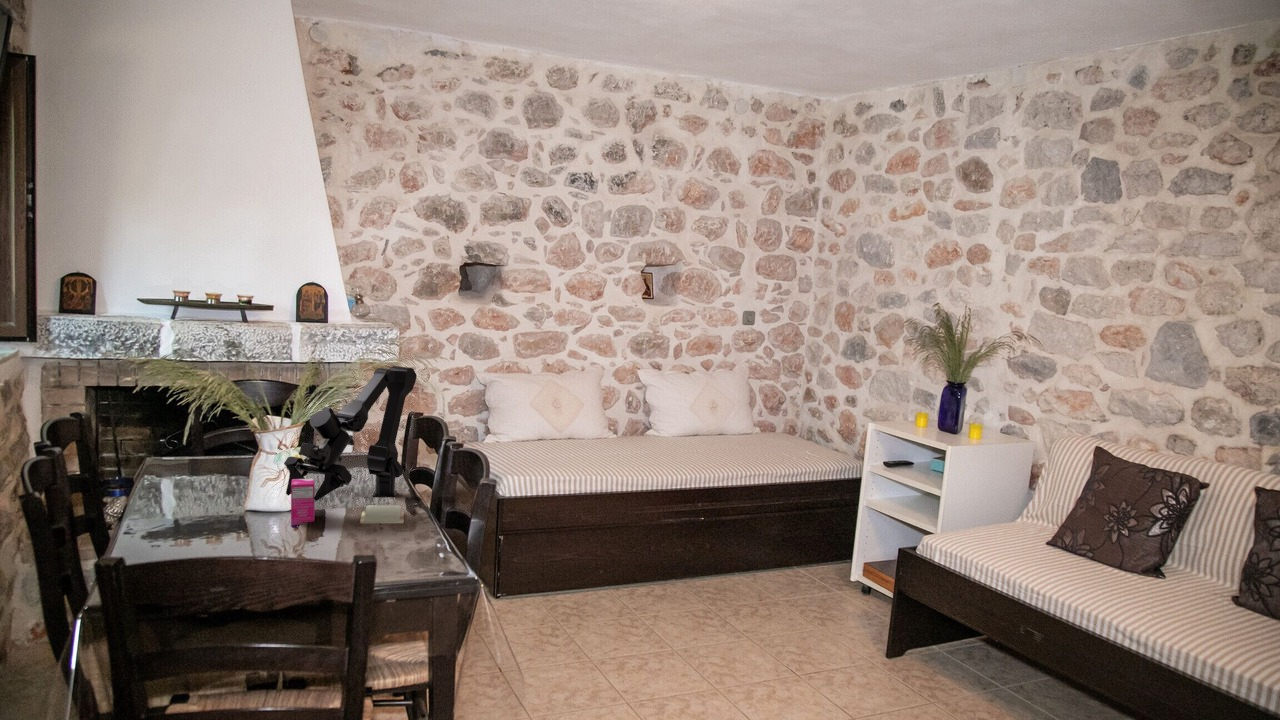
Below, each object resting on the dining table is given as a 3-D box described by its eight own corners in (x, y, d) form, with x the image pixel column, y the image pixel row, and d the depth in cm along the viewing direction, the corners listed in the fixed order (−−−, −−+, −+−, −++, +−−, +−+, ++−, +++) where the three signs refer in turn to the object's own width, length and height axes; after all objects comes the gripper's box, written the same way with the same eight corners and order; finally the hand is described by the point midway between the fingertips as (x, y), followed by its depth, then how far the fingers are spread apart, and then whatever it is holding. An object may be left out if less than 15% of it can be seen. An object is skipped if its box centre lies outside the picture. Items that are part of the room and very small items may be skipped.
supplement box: (290, 520, 220) (291, 478, 219) (314, 519, 222) (315, 478, 221) (289, 527, 214) (290, 484, 213) (314, 526, 216) (315, 483, 215)
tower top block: (366, 512, 227) (366, 505, 227) (400, 512, 229) (400, 505, 229) (364, 522, 218) (364, 515, 218) (399, 522, 221) (399, 515, 220)
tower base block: (361, 518, 228) (362, 511, 228) (403, 518, 231) (403, 511, 231) (359, 530, 217) (359, 523, 217) (403, 530, 220) (403, 523, 220)
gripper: (290, 426, 223) (256, 474, 214) (346, 435, 217) (314, 485, 208) (310, 450, 231) (279, 498, 222) (364, 460, 225) (335, 509, 216)
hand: (301, 497), depth 217 cm, fingers open, 9 cm apart
